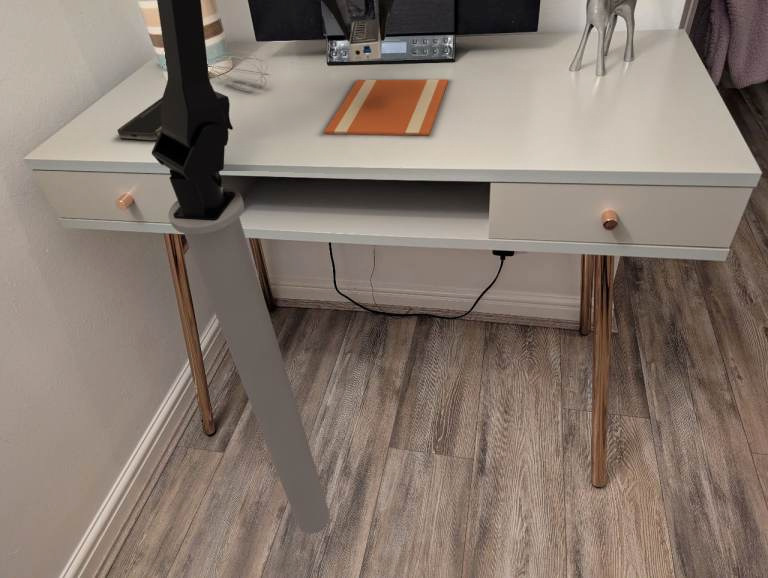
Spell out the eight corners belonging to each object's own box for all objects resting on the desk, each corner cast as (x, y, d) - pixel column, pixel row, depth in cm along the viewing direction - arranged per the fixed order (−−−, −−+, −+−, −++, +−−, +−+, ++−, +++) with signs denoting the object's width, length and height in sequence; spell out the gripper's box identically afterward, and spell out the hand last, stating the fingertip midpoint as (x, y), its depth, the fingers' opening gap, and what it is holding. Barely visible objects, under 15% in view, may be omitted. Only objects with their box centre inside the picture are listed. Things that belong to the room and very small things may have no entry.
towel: (428, 135, 84) (428, 132, 84) (325, 133, 88) (324, 131, 87) (447, 81, 99) (447, 79, 98) (358, 82, 102) (357, 79, 102)
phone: (204, 95, 101) (154, 134, 90) (206, 101, 101) (157, 141, 91) (166, 93, 103) (113, 131, 92) (168, 99, 104) (116, 138, 93)
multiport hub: (382, 33, 91) (380, 18, 90) (381, 58, 83) (379, 41, 81) (354, 36, 91) (352, 21, 90) (350, 61, 83) (348, 44, 82)
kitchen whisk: (173, 58, 121) (162, 27, 117) (280, 88, 104) (273, 52, 100) (148, 68, 118) (136, 36, 114) (255, 101, 100) (246, 64, 96)
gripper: (433, -97, 80) (436, 21, 90) (306, -88, 84) (323, 24, 94) (419, -82, 72) (424, 46, 82) (280, -73, 76) (301, 48, 86)
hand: (366, 40), depth 86 cm, fingers closed on multiport hub, 5 cm apart
